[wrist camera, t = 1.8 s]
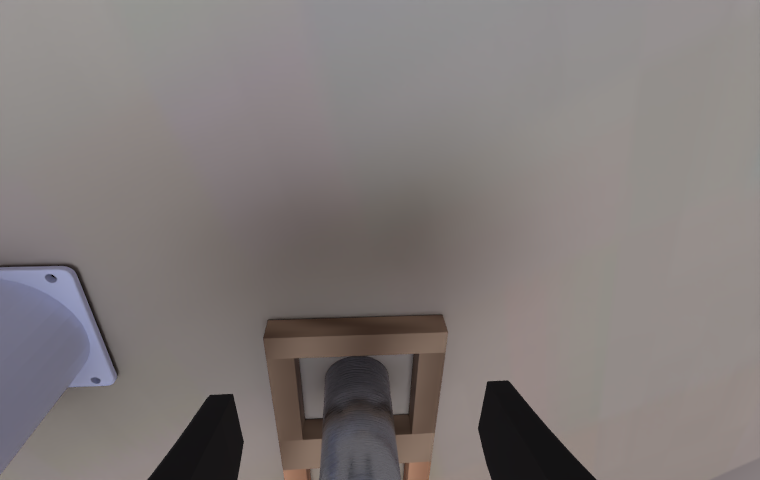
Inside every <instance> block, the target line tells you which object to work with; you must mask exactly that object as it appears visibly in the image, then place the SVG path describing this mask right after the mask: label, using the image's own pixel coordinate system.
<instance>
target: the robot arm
mask: <svg viewBox="0 0 760 480" xmlns="http://www.w3.org/2000/svg"><path fill="white" fill-rule="evenodd" d="M51 274H52V275H54V276H55V277H56V278H54V277H52V276H51ZM116 379H117V374H116V372H115V369H114V367H113V364H112V362H111V359H110V357H109V354H108V352H107V349H106V347H105V344H104V342H103V339H102V337H101V334H100V332H99V329H98V327H97V324H96V322H95V319H94V317H93V314H92V312H91V309H90V306H89V304H88V301H87V299H86V296H85V294H84V291H83V289H82V286H81V284H80V281H79V279H78V276H77V274H76V273H75V271H74V270H73V269H71V268H69V267H67V266H35V267H0V475H1V473H2V472H3V471H4V469H5V468H6V467H7V465H8V464H9V463H10V462H11V460H12V459H13V458H14V456H15V455H16V454H17V452H18V451H19V450H20V449H21V447H22V446H23V445H24V443H25V442H26V441H27V439H28V438H29V437H30V436H31V434H32V433H33V432H34V430H35V429H36V428H37V426H38V425H39V424H40V423H41V421H42V420H43V419H44V417H45V416H46V415H47V413H48V412H49V411H50V409H51V408H52V407H53V406H54V404H55V403H56V402H57V400H58V399H59V398H60V396H61V395H62V394H63V393H64V391H65V390H66V389H67V387H86V386H108V385H112V384H113V383H114V382H115V380H116ZM478 430H479V435H480V439H481V443H482V448H483V452H484V456H485V460H486V464H487V467H488V470H489V473H490V476H491V479H492V480H596V479H595V478H594V477H593V476H592V475H591V474H590V472H589V471H588V470H587V469H586V468H585V467H584V466H583V465H582V464H581V463H580V462H579V461H578V460H577V459H576V458H575V457H574V456H573V455H572V454H571V453H570V452H569V450H568V449H567V448H566V447H565V446H564V445H563V444H562V443H561V442H560V440H559V439H558V438H557V437H556V436H555V435H554V434H553V433H552V432H551V430H550V429H549V428H548V427H547V426H546V425H545V424H544V422H543V421H542V420H541V419H540V418H539V417H538V415H537V414H536V413H535V412H534V411H533V409H532V408H531V407H530V406H529V405H528V404H527V402H526V401H525V400H524V399H523V397H522V396H521V395H520V394H519V393H518V391H517V390H516V389H515V388H514V387H513V385H512V384H511V383H510V382H509V381H488V382H487V386H486V391H485V396H484V401H483V406H482V411H481V416H480V421H479V426H478ZM243 443H244V441H243V437H242V432H241V428H240V423H239V419H238V414H237V410H236V406H235V401H234V397H233V394H222V395H210V396H209V397H208V398H207V399H206V400H205V402H204V403H203V405H202V406H201V408H200V409H199V411H198V412H197V413H196V415H195V416H194V418H193V419H192V421H191V422H190V423H189V425H188V426H187V428H186V429H185V431H184V432H183V433H182V435H181V436H180V437H179V439H178V440H177V442H176V443H175V444H174V446H173V447H172V448H171V450H170V451H169V452H168V454H167V455H166V456H165V458H164V459H163V460H162V462H161V463H160V464H159V466H158V467H157V468H156V469H155V471H154V472H153V473H152V475H151V476H150V477H149V478H148V480H237V478H238V473H239V467H240V461H241V455H242V449H243Z"/></svg>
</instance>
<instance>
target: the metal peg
mask: <svg viewBox="0 0 760 480" xmlns="http://www.w3.org/2000/svg"><path fill="white" fill-rule="evenodd" d="M319 480H401V477H400V468H399V460H398V452H397V443H396V435H395V427H394V418H393V410H392V402H391V394H390V385H389V377H388V372H387V370H386V368H385V367H384V366H383V364H381V363H380V362H379V361H377V360H375V359H373V358H370V357H365V356H352V357H347V358H344V359H342V360H339V361H338V362H336V363H335V364H333V365H332V366H331V367H330V368H329V370H328V371H327V374H326V377H325V393H324V410H323V427H322V444H321V461H320V478H319Z"/></svg>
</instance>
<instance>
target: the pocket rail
mask: <svg viewBox="0 0 760 480" xmlns="http://www.w3.org/2000/svg"><path fill="white" fill-rule="evenodd" d="M447 337H448V331H447V327H446V324H445V321H444V318H443V315H422V316H390V317H358V318H325V319H293V320H268V322H267V326H266V330H265V334H264V337H263V341H264V347H265V354H266V360H267V367H268V374H269V380H270V387H271V393H272V400H273V407H274V413H275V420H276V426H277V433H278V440H279V446H280V453H281V459H282V466H283V472H284V479H285V480H311V476H310V469H313V468H320V461H321V444H322V427H323V419H307V420H305V416H304V406H303V396H302V386H301V376H300V366H299V358H316V357H343V356H369V355H395V354H414V357H413V369H412V381H411V393H410V405H409V414H407V415H393V418H394V427H395V435H396V443H397V452H398V460H399V463H405V466H404V478H403V480H429V473H430V465H431V458H432V450H433V442H434V435H435V427H436V420H437V412H438V405H439V397H440V389H441V382H442V374H443V367H444V359H445V352H446V344H447Z"/></svg>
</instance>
